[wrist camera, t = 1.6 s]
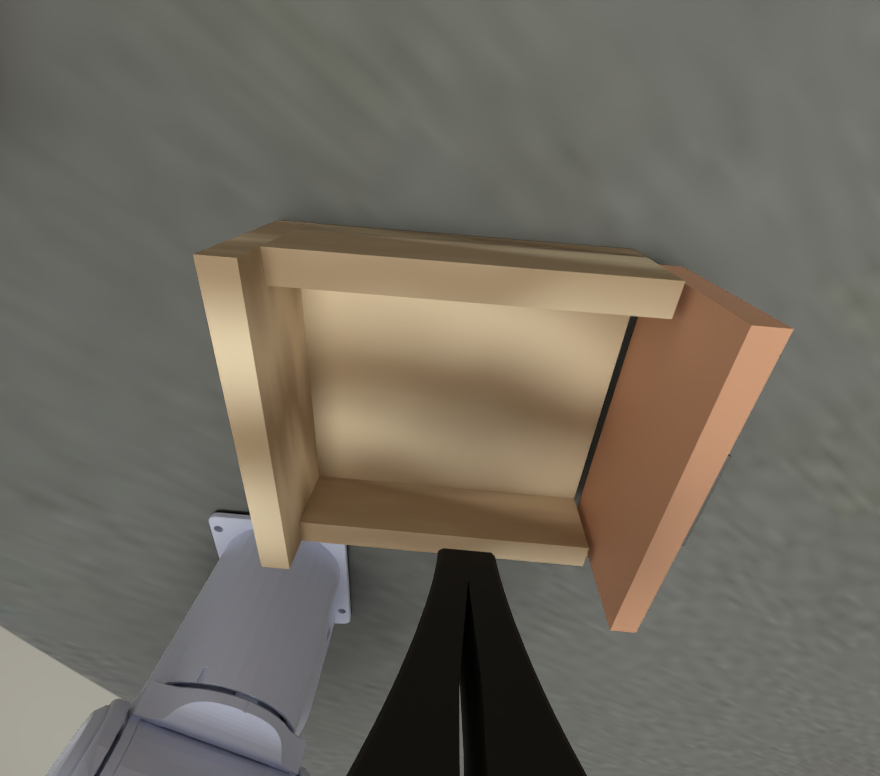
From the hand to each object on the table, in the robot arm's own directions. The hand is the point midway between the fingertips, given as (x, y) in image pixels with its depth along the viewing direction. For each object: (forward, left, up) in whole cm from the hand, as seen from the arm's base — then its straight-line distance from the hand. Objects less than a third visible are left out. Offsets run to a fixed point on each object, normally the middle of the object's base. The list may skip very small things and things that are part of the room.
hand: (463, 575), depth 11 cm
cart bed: (0, +1, -10) cm, 10 cm away
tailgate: (0, -7, -9) cm, 12 cm away
